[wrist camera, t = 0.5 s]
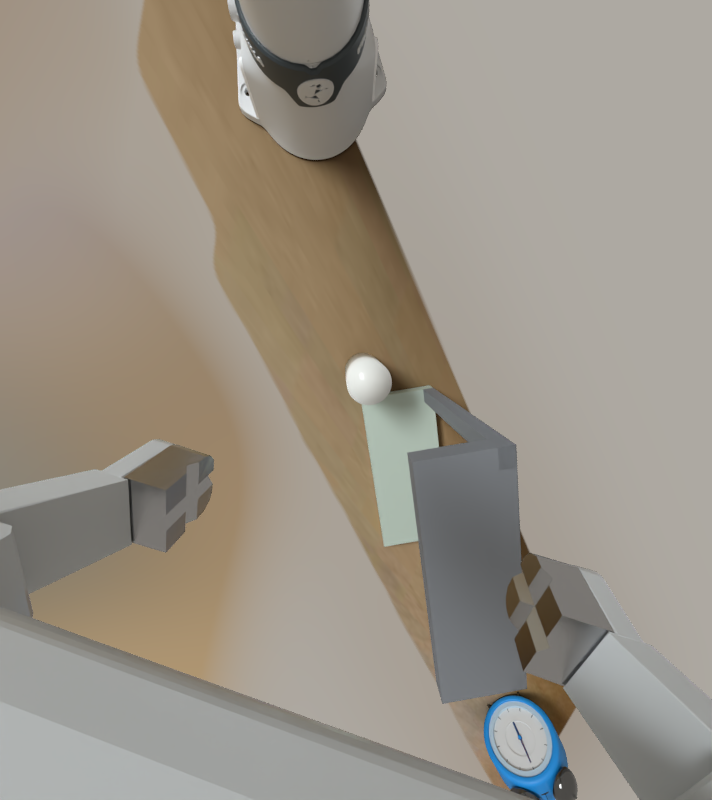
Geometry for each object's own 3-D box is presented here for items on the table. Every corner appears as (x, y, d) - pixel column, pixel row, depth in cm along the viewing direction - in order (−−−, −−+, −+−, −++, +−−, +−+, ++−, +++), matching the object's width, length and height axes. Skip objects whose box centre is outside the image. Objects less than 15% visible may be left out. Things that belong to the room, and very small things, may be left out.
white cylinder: (342, 355, 50) (343, 364, 39) (377, 350, 50) (388, 357, 39) (348, 390, 51) (350, 408, 40) (382, 385, 51) (394, 401, 41)
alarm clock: (530, 682, 67) (583, 782, 52) (540, 702, 68) (594, 805, 54) (472, 707, 68) (508, 813, 53) (482, 726, 69) (521, 834, 55)
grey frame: (360, 396, 51) (381, 467, 26) (429, 385, 52) (516, 444, 26) (382, 539, 58) (417, 708, 32) (444, 528, 58) (526, 688, 32)
